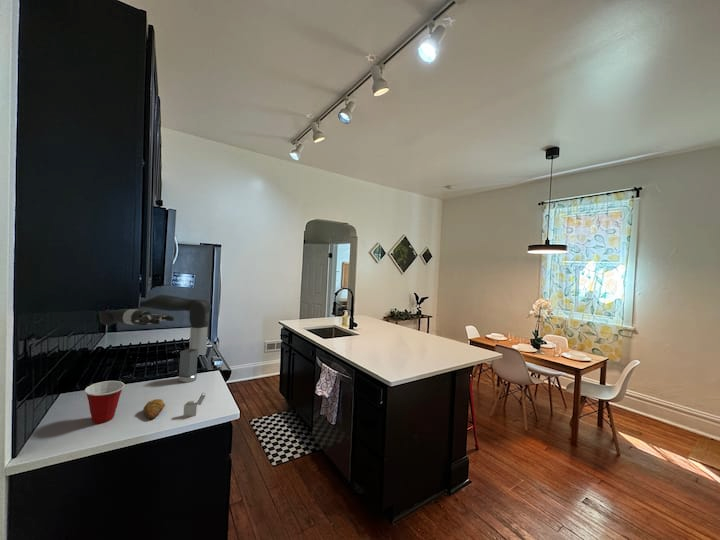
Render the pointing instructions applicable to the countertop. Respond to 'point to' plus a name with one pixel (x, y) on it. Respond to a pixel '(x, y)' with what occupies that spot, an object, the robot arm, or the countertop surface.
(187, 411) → the lighter
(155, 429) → the countertop surface
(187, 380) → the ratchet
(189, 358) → the gray rectangular block
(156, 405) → the croissant
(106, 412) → the plastic cup
